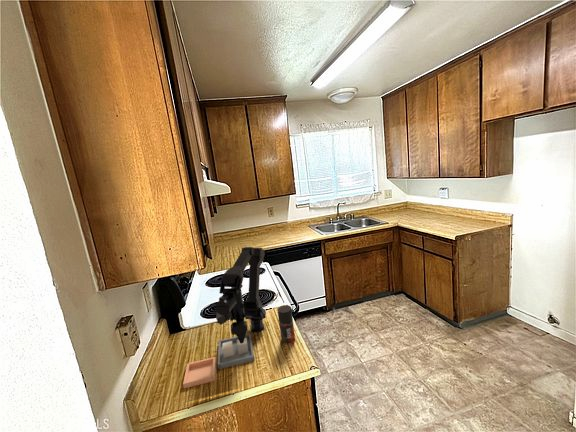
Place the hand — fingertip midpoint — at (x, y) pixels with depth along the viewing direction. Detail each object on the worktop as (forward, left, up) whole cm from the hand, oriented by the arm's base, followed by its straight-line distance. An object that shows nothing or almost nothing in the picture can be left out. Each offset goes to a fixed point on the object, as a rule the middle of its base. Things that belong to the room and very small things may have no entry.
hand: (241, 336), depth 113 cm
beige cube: (0, -6, -6) cm, 9 cm away
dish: (+8, -17, -7) cm, 20 cm away
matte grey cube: (0, 0, -6) cm, 6 cm away
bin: (0, -3, -7) cm, 8 cm away
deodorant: (0, +19, -7) cm, 21 cm away
